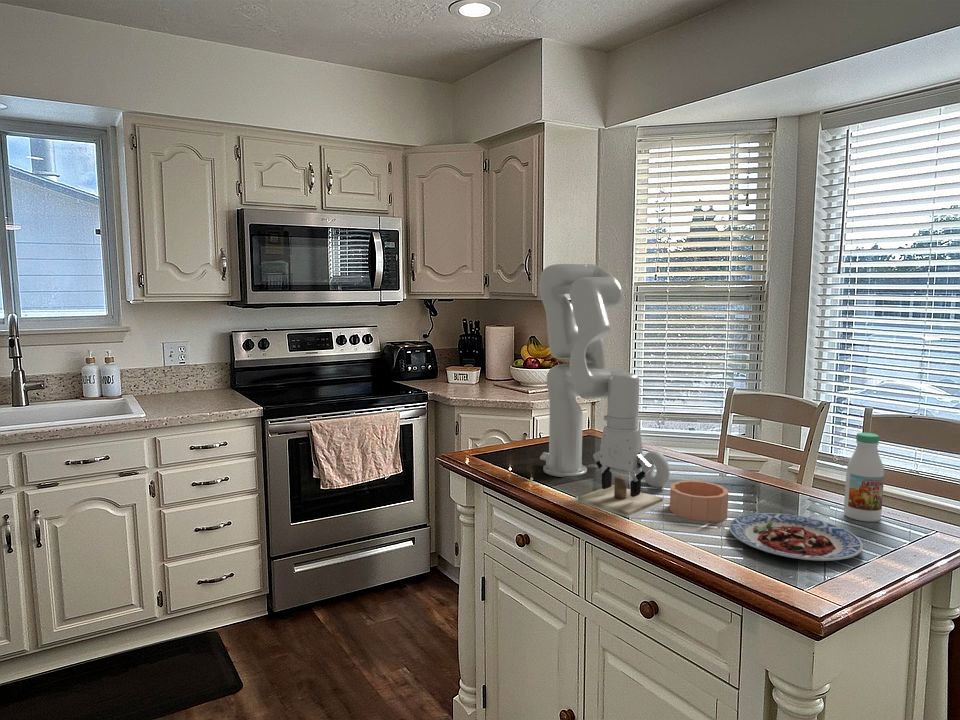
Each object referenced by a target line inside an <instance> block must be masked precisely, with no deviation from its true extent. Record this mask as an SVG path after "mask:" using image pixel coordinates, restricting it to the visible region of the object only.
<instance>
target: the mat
mask: <svg viewBox="0 0 960 720" xmlns="http://www.w3.org/2000/svg"><path fill="white" fill-rule="evenodd" d="M597 490H598V489H597ZM597 490H595V491H597ZM583 495H584V494H583ZM583 495H581V496H583ZM578 497H579V496H576V497H574V498H572V499H571V501H573V502H575V503H580V504H582V505H586V506H590V507H593V508H597V509H599V510H602V511H605V512H609V513H612V514H616V515H620V516H622V517H626V518H630V519H633V518H636V517H638V516H640V515H644V514H646V513H647V512H650V511H652V510H655V509H656V508H657V509H658V508H659V507H662V506H664V505H666V504H668V503H669V504H670V500H664V499H663V501H662V502H660V503H657V504H655V505H652V506H650V507H648V508H645V509H643V510H641V511H638V512H636V513H633V514H631V515H625V514H622V513H619V512H615V511H612V510H609V509H605V508H602V507H599V506H595V505H592V504H589V503H585V502H582V501H579V500H578Z"/></svg>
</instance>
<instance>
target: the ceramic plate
mask: <svg viewBox="0 0 960 720" xmlns="http://www.w3.org/2000/svg"><path fill="white" fill-rule="evenodd" d="M728 529H729V532H730V533H731V534H732V535H733V537H735V538H736V539H737V540H739V542H742V543H743V544H745V545H747V546H749V547H751V548H755V549H757V550H760V551H763V552H765V553H769V554H773V555H776V556H779V557H780V556H781V557H786V558H792V559H799V560H805V561H818V562H820V561H822V562H823V561H824V562H825V561H826V562H828V561H840V560H841V561H842V560H846V559H850V558H851V559H852V558H853V557H856V556H858V555H859V554H860V553H862V552H863V549H864V544H863V542H862V540H861V539H860V538H859V537H858V536H856V535H855V534H853V533H852V532H851V531H849V530H847V529H846V528H842V527H841V526H839V525H836V524H833V523H830V522H827V521H824V520H820V519H817V518H812V517H808V516H807V517H806V516H803V515H795V514H788V513H775V512H774V513H773V512H761V513H750V514H745V515H741V516H738V517H736V518H734V519H732V520H731V521H730V523H729V524H728Z"/></svg>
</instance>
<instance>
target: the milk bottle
mask: <svg viewBox="0 0 960 720" xmlns="http://www.w3.org/2000/svg"><path fill="white" fill-rule="evenodd" d="M855 442H856V448H855V450H854V452H853V454H852V455H851V457H850V459H849V460H848V463H847V467H846V474H845V484H844V485H845V486H844V498H843V499H844V501H843V514H844V516H845V517H847V518H849V519H852V520H856V521H861V522H867V523H871V522H872V523H875V522H879V521H880V520H881V518H882V511H883V510H882V508H883V498H884V497H883V496H884V481H885V469H884V464H883V461H882V459H881V457H880V454H879V450H878V446H879V443H880V436H879V435H878V434H876V433H873V432H872V433H871V432H858V433H857V434H856V441H855Z"/></svg>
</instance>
